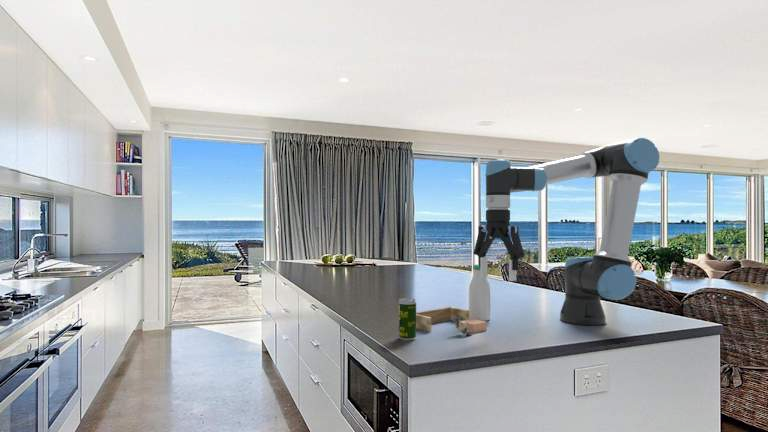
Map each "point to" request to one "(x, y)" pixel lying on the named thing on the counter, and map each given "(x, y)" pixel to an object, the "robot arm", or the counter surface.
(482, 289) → the milk bottle
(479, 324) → the tile
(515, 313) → the counter surface
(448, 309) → the frame
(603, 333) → the counter surface
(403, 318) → the beer can
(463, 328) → the vase
